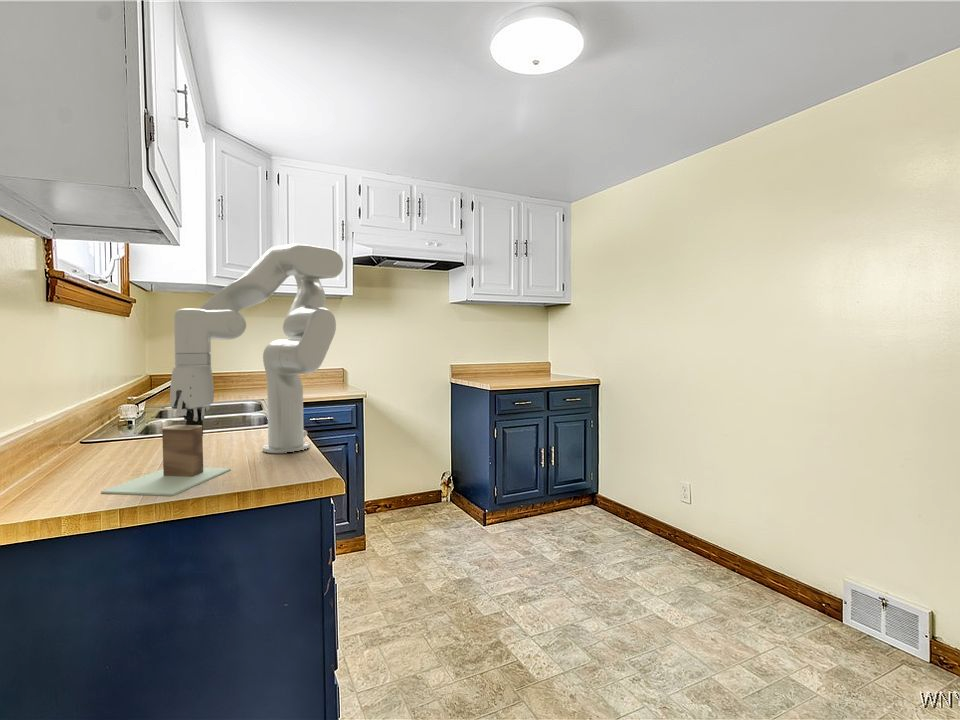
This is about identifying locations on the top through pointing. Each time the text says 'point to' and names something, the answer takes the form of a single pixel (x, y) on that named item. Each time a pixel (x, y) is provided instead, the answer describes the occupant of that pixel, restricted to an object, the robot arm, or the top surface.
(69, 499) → the top surface
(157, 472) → the sage mat
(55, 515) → the top surface
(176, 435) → the walnut slab
